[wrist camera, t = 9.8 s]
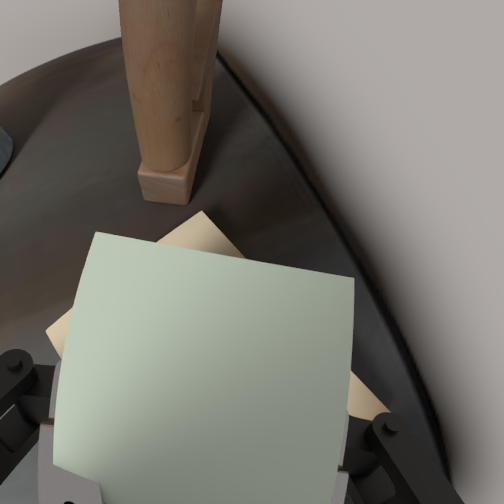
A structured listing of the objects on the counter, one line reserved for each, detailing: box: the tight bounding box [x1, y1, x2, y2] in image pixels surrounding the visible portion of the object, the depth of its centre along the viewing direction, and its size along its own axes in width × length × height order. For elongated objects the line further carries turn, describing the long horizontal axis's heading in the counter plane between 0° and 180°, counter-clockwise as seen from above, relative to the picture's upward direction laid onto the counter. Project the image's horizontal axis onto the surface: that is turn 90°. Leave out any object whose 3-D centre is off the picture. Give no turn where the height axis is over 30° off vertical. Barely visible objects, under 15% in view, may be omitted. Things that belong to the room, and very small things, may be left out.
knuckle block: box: [53, 232, 354, 504], centre depth 9 cm, size 5×5×11 cm
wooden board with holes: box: [46, 211, 391, 421], centre depth 14 cm, size 20×13×6 cm, turn 43°
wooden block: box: [119, 0, 223, 205], centre depth 15 cm, size 4×11×18 cm, turn 176°
